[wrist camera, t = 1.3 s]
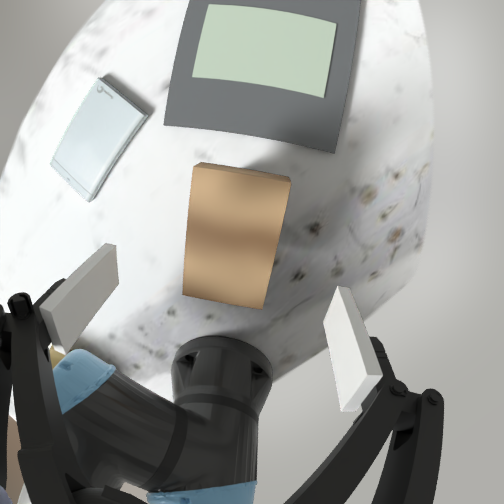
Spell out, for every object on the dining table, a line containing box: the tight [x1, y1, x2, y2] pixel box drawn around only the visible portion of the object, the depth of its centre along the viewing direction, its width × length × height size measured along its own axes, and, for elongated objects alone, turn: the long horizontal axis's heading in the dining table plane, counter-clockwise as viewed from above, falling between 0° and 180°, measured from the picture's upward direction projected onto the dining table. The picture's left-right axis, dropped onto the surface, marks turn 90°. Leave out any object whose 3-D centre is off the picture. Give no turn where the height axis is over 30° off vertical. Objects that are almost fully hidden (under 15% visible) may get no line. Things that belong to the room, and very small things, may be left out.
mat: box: [164, 0, 361, 154], centre depth 21 cm, size 19×17×1 cm
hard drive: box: [50, 78, 148, 202], centre depth 26 cm, size 2×8×12 cm
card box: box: [182, 162, 291, 310], centre depth 22 cm, size 11×7×2 cm, turn 170°
